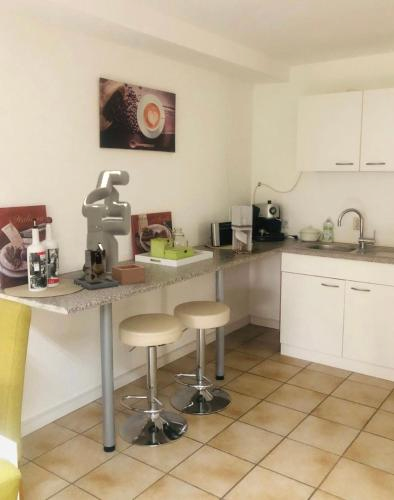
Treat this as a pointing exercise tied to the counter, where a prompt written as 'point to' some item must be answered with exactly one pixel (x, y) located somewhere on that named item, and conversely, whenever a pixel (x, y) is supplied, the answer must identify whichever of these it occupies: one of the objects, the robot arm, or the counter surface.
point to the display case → (242, 228)
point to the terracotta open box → (128, 274)
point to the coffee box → (94, 266)
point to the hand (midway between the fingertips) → (95, 262)
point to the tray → (96, 283)
